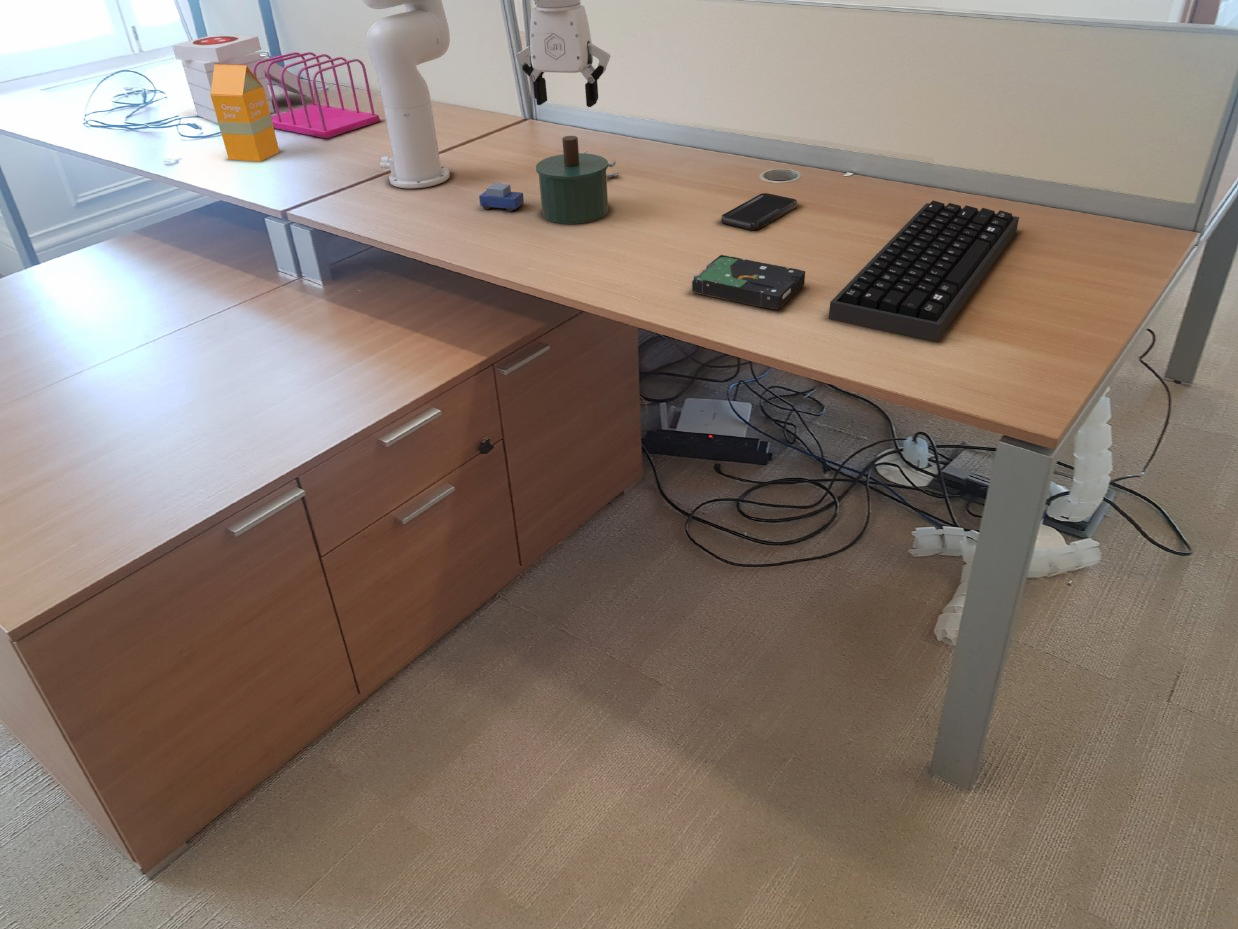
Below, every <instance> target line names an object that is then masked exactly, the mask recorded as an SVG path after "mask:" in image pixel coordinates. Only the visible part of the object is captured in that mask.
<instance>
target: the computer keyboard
mask: <svg viewBox="0 0 1238 929" xmlns="http://www.w3.org/2000/svg"><path fill="white" fill-rule="evenodd" d="M1019 221H1020V217H1019V216H1015V215H1013V213H1011V212H1007V211H1005V210H1001V209H999V211H998V212H997V213H996V211H995V210H993V209H990V208H985V207H982V208H981V209H980V210H979V208H977V207H974V206H970V205H964V207H963V208H962V205H959V204H955V203H952V202H948V204H946V205H945V203H944V202H941V201H937V200H932V201H931V202H929V203H928V202H926V203H925V204H924V205H923V206H922V207H921V208H920V209H919V210H918V211H917V212H916V213H915V214H914V215H913V216H912V217H911V218H910V220H908V221H907V222H906V223H905V224H904V225H903V226H902V227H901V228H900V230H899V231H897V232H896V233H895V235H894V236H893V237H892V238H891V239H890V240H889V241H888V242H887V243H886V244H885V245H884V246H883V247H881V249H880V250H879V251H878V252H877V253H876V254H875V255H874V256H873V258H871V260H869V261H868V262H867V264H865V265H864V267H863V268H861V270H859V271H858V273H857V274H856V275H855V276H854V277H853V278H852V279H851V280H850V281H849V282H848V283H847V284H846V285H845V286H844V287H843V288H842V289H841V290H840V291H839V292H838V294H836V295H835V296H834V297H833V298H832V299H831V300H830V302H829V312H828V320H832V321H838V322H842V323H845V324H846V323H847V324H851V325H856V326H861V327H866V328H869V329H873V330H874V329H875V330H879V331H883V332H888V333H893V334H897V335H902V336H905V337H911V338H916V339H921V340H925V341H929V342H933V343H937V342H938V341H939V340H940V338H941V337H942V336H943V334H944V333H945V332H946V330H947V329H948V327H949V326H950V325H951V323H952V322H953V320H954V319H955V318H956V317H957V315H958V313H959V312H960V311H961V309H962V308H963V306H965V304H966V303H967V301H968V300H969V298H970V297H971V296H972V294H974V291H975V290H976V289H977V287H978V286H979V284H980V283H981V282H982V281H983V279H984V278H985V276H986V275H987V273H988V272H989V270H990V269H991V268H992V266H993V265H994V264H995V262H996V261H997V260H998V258H999V257H1000V256H1001V254H1002V253H1003V251H1004V250H1005V248H1006V247H1007V246H1008V244H1009V243H1010V242H1011V240H1012V239H1013V237H1014V236H1015V235H1016V234H1017V230H1018V227H1019V226H1018V225H1019Z"/></svg>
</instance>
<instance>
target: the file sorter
mask: <svg viewBox="0 0 1238 929" xmlns="http://www.w3.org/2000/svg"><path fill="white" fill-rule="evenodd" d="M306 56H311V57H308V58H305V57H306ZM324 57H325V58H327V60H323V61H320V59H321V58H324ZM296 58H301V60H298V61H295V62H292V63H290V64H287V65H284V66H283V69H282V71H281V81H282V85H283V89H282V90H283V92H284V96H285V101H286V103H287V106H288V111H285V112H281V113H280V110H279V106H278V103H277V98H276V94H275V91H274V87H273V83H272V82H271V78H270V74H269V69H270V67H271V65H272V64H274V63H276V64H278V63H280V62H284V61H289V60H293V59H296ZM313 60H316V63H312V64H310V65H308V64H307V62H310V61H313ZM339 60H342V61H343V62H339V63H334V62H336V61H339ZM268 61H271V62H270V63H269V64H268V66H267V70H266V72H267V78H268V80H267V83H268V87H269V89H270V90H269V91H270V95H271V97H272V101H273V104H274V110H275V113H276V114H274V115H271V118H272V122H273V127H274V129H278V130H283V131H287V132H293V133H297V134H302V135H308V136H313V137H317V138H322V139H330V138H333V137H336V136H338V135H342V134H344V133H347V132H351V131H353V130H356V129H357V130H358V129H360V128H363V127H366V126H370V125H373V124H375V123H379V122H380V120H381V119H380V115H379V114H377V113H375V109H374V105H373V100H372V93H371V90H370V89H371V88H370V84H369V78H368V74H367V69H366V66H365V64H364V62H363V61H362V60H361V59H358V58H354V59H353V58H352V59H350V60H348V59H346V58H345V57H342V56H337V57H334V58H332V56H330V55H329V54H327V53H322V54H318V55H317V54H316V53H314V52H310V51H307V52H303V53H301V52H298V51H295V52H290V53H285V54H281V55H277V56H274V57H273V56H272V57H268V59H265V60H261V61H258V62H257V63H256V64H255V65H254V67H253V74H254V76H255V77H256V68H257V66H258V65H259V64H260V63H264V62H268ZM354 62H357V63H359V64H360V66H361V69H362V73H363V77H364V82H365V87H366V93H367V98H368V102H369V107H370V112H365V111H360V108H359V102H358V99H357V95H356V94H357V93H356V88H355V84H354V79H353V74H352V70H351V65H350V64H351V63H354ZM329 63H330V64H331V65H329V66H325V67H323V68H322V65H325V64H329ZM301 64H303V65H304V66H303V67H302V68H300V69H299V70H298V72H297V75H296V76H297V83H298V87H299V91H300V95H299V96H300V99H301V103H302V107H301V106H300V107H298V108H294V109H293V107H292V105H291V101H290V97H289V94H288V91H287V89H286V86H285V82H284V72H285V70H288V69H289V68H292V67H294V66H295V67H296V66H297V65H301ZM344 65H346V67H347V71H348V76H349V81H350V85H351V90H352V96H353V102H354V106H355V110H352V109H348V108H345V105H344V101H343V97H342V93H341V92H342V91H341V88H340V83H339V79H338V75H337V70H336V68H338V67H341V66H344ZM316 67H317V68H318V70H316V71H315V72H314V74H313V76H312V81H311V77H310V74H309V73H310V72H309V69H313V68H316ZM329 70H332V72H333V77H334V81H335V85H336V86H335V87H336V90H337V94H338V99H339V103H340V107H336V106H331V105H330V102H329V97H328V94H327V88H326V84H325V79H324V74H323V73H324V72H326V71H329ZM304 71H305V76H306V79H307V83H308V84H309V89H310V94H311V98H310V99H311V101H312V104H308V105H306V101H305V96H303V92H302V88H301V84H300V78H301V74H302V73H303V72H304ZM318 75H319V76H320V81H321V85H322V90H323V94H324V99H325V100H324V101H325V104H326V105H324V104H321V101H320V97H319V92H318V89H317V83H316V80H317V77H318ZM256 78H257V77H256ZM311 85H312V86H313V87H314V91H312V86H311ZM314 95H315V96H314ZM315 100H316V101H315Z"/></svg>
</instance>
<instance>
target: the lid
mask: <svg viewBox="0 0 1238 929" xmlns="http://www.w3.org/2000/svg"><path fill="white" fill-rule="evenodd" d="M561 140H562V153H563V154H557V155H553V156H549V157H546V158H544V159H543V158H542V160H540V161H538V162H537V163H536V165H535V171H536V173H537V174H538V176H539V175H541V176H544V177H547V178H552V179H580V178H586V177H591V176H594V175H597V174H600V173H602V172H604V171H605V170H606V171H607V169H608V168H609V166H608V163H609V160H608V159H607V158H605V157H604V156H602V155H598V154H593V153H587V152H586V153H583V152H580V151H579V138H578V136H577V135H566V136H563V137H562V138H561Z"/></svg>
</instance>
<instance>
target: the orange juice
mask: <svg viewBox="0 0 1238 929" xmlns="http://www.w3.org/2000/svg"><path fill="white" fill-rule="evenodd" d="M210 95H211V99H212V103H213V106H214V110H215V113H216V117H217V120H218V124H217V125H218V128H219V131H220V134H221V138H222V141H223V144H224V149H225V152H226V156H227V158H228V160H229V161H230V160H231V161H244V162H245V161H246V162H257V163H258V162H259V163H260V162H262V161H264V160H266V159H268V158H271V157H272V156H274V155H277V154H278V153H280V146H279V142H278V140H277V139H278V138H277V135H276V132H275V128H274V127H273V122H272V118H271V116H272V113H270V111H269V107H268V103H267V99H266V95H265V91H264V87H263V86H262V84H261V83H260V82H259V81H258V79H257V78H256V77H255V76H254V74H253V73H252V72H251V70H250V69H249V68H248V67H247V65H236V64H214V72H213V79H212V87H211V94H210Z"/></svg>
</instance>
